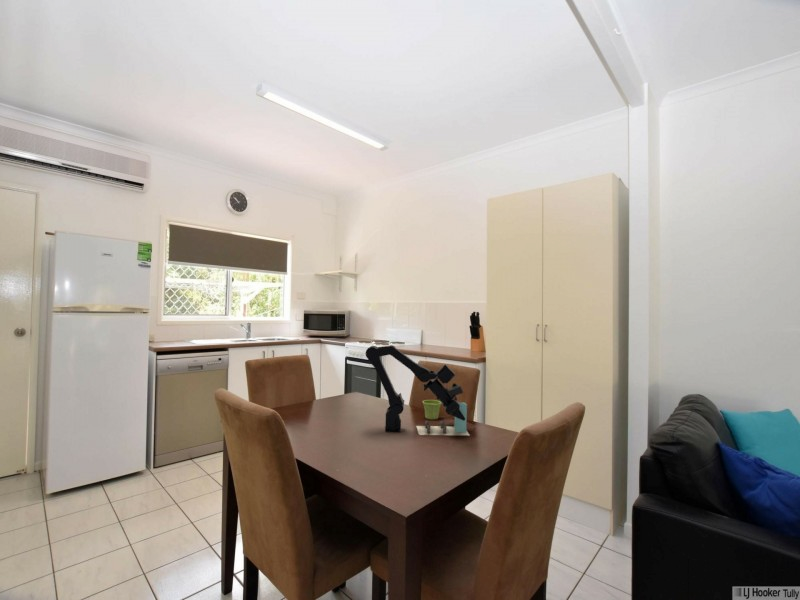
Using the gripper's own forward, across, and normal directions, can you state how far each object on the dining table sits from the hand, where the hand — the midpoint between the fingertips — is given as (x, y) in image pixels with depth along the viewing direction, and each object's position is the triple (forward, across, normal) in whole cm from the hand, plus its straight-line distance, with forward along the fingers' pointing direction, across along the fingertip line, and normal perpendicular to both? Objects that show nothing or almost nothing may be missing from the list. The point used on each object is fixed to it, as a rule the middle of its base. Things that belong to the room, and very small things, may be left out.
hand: (463, 416), depth 166 cm
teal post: (+3, 0, +5) cm, 6 cm away
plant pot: (-4, +19, +15) cm, 24 cm away
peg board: (-2, -1, +12) cm, 12 cm away
